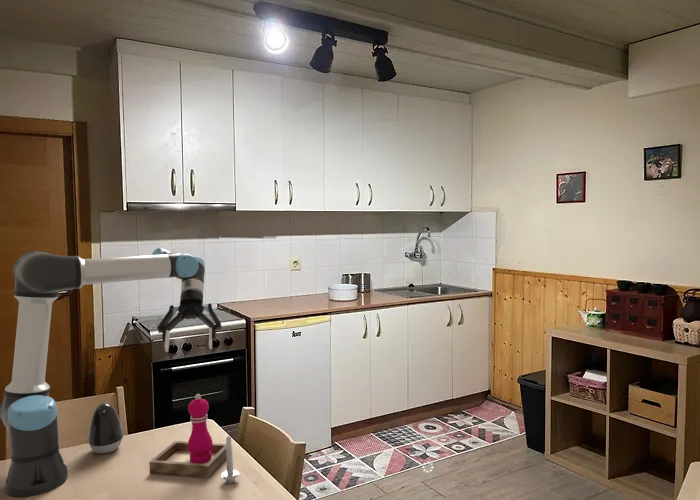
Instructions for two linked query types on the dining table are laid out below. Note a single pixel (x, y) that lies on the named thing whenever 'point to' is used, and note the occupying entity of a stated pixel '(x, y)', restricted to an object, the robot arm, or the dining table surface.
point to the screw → (229, 464)
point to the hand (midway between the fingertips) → (188, 348)
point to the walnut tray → (186, 461)
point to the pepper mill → (199, 431)
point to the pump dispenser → (105, 429)
